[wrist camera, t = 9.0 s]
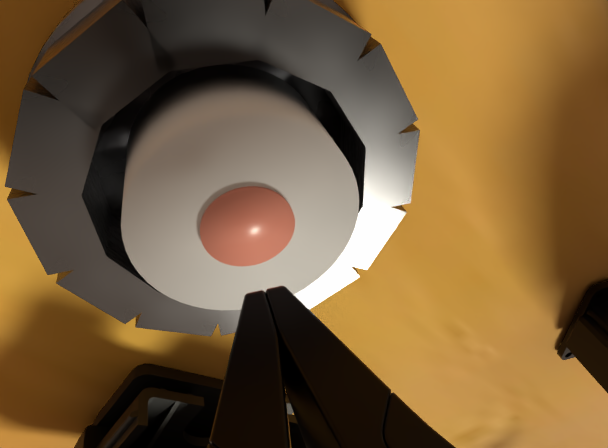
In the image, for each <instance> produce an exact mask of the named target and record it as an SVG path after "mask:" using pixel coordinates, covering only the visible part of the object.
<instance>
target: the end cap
mask: <svg viewBox="0 0 608 448" xmlns="http://www.w3.org/2000/svg"><path fill="white" fill-rule="evenodd" d="M223 382H224V380H220V379H216V378H211V377H207V376H202V375H198V374H193V373H189V372H184V371H180V370H176V369H171V368H167V367H162V366H158V365H153V364H143V365H139V366H137V367H136V368H134V369H133V370H132V372H131V373H130V374H129V375H128V377H127V378H126V379H125V380H124V382H123V383H122V384H121V386H120V387H119V388H118V389H117V391H116V392H115V393H114V395H113V396H112V397H111V398H110V400H109V401H108V402H107V403H106V405H105V406H104V407H103V409H102V410H101V411H100V412H99V414H98V416H97V417H96V419H95V421H94V423H93V424H92V425H90V426H88V427H87V428H86V429H85V430H84V432H83V433H82V435H81V436H80V438H79V440H78V441H77V443H76V445H75V447H74V448H207V447H208V444H210V441H209V440H210V436H211V431H212V427H213V423H214V419H215V415H216V411H217V407H218V403H219V398H220V394H221V390H222V386H223ZM286 403H287V412H288V421H289V430H290V440H291V448H307V447H306V444H305V442H304V439H303V436H302V434H301V431H300V428H299V426H298V423H297V420H296V418H295V415H291V414H292V413H293V410H292V407H291V404H290V401H289V399H288V396H287V394H286Z"/></svg>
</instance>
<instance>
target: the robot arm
mask: <svg viewBox="0 0 608 448" xmlns="http://www.w3.org/2000/svg"><path fill="white" fill-rule="evenodd" d="M557 354H558V355H559V356H560V358H561V359H562V360H567V359H570V358H574V357H576V358H577V359H578V360H579V361H580V363H581V364H582V365H583V366H584V367H585V368H586V369H587V370H588V372H589V373H590V374H591V375H592V376H593V377H594V378H595V379H596V381H597V382H598V383H599V384H600V385H601V386H602V387H603V388H604V390H605V391H606V392H607V393H608V281H606V282H602V283H598V284H595V285H593V286H592V287H591V288H589V289H588V291H587V293H586V295H585V297H584V299H583V301H582V303H581V305H580V307H579V309H578V311H577V313H576V315H575V317H574V319H573V321H572V323H571V325H570V327H569V329H568V331H567V333H566V336H565V338H564V340H563V342H562V344H561V346H560V348H559V350H558V352H557ZM285 389H286V393H287V396H288V399H289V401H290V404H291V407H292V410H293V412H294V415H295V418H296V420H297V423H298V426H299V428H300V431H301V434H302V436H303V439H304V442H305V444H306V447H307V448H455V447H454V446H453V445H452V444H450V443H449V442H448V441H447V440H446V439H444V438H443V437H442V436H441V435H440V434H438V433H437V432H436V431H435V430H433V429H432V428H431V427H430V426H429V425H428V424H427V423H425V422H424V421H423V420H422V419H421V418H420V417H419V416H418V415H417V414H416V413H415V412H414V411H412V410H411V409H410V408H409V407H408V406H407V405H406V404H405V403H404V402H403V401H402V400H401V399H400V398H399V397H398V396H397V395H396V394H395V393H391V390H390V388H388V387H387V386H386V385H385V384H384V383H383V382H382V381H381V380H380V379H379V378H378V377H377V376H376V375H375V374H374V373H373V372H372V371H371V370H370V369H369V368H368V367H367V366H366V365H365V364H364V363H363V362H362V361H361V360H360V359H359V358H358V357H357V356H356V355H355V354H354V353H353V352H352V351H351V350H350V349H349V348H348V347H347V346H346V345H345V344H344V343H343V342H342V341H341V340H339V339H338V338H337V337H336V336H335V335H334V334H333V333H332V332H331V331H330V330H329V329H328V328H327V327H326V326H325V325H324V324H323V323H322V322H321V321H320V320H319V319H318V318H317V317H316V316H315V315H314V314H313V313H312V312H311V311H310V310H309V309H308V308H307V307H306V306H305V305H304V304H303V303H302V302H301V301H300V300H299V299H298V298H297V297H296V296H295V295H294V294H293V293H292V292H290V291H289V290H288V289H287V288H286V287H285V286H277V287H273V288H268V289H267V290H266V291H265V292H264V291H263V290H259V291H255V292H250V293H247V294H246V295H245V296H244V300H243V304H242V308H241V312H240V316H239V320H238V324H237V328H236V333H235V337H234V341H233V345H232V349H231V353H230V357H229V361H228V366H227V370H226V374H225V378H224V382H223V386H222V390H221V394H220V398H219V403H218V407H217V411H216V415H215V419H214V423H213V427H212V431H211V436H210V440H209V441H210V444H208V447H207V448H291V440H290V430H289V421H288V412H287V403H286V394H285Z"/></svg>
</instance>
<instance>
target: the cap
mask: <svg viewBox="0 0 608 448" xmlns="http://www.w3.org/2000/svg"><path fill="white" fill-rule="evenodd" d="M358 210H359V192H358V187H357V182H356V179H355V176H354V173H353V170H352V168H351V166H350V165H349V163H348V161H347V159H346V158H345V156H344V155H343V153H342V152H341V151H340V149H339V148H338V146H337V145H336V144H335V142H334V141H333V139H332V138H331V136H330V135H329V134H328V132H327V131H326V129H325V128H324V127H323V125H322V124H321V122H320V121H319V119H318V118H317V117H316V115H315V114H314V112H313V111H312V110H311V108H310V107H309V105H308V104H307V103H306V101H305V100H304V99H303V98H302V96H301V95H300V94H299V93H298V92H297V91H296V90H295V89H294V88H293V87H292V86H290V85H289V84H288V83H286V82H285V81H283V80H282V79H280V78H278V77H276V76H275V75H273V74H271V73H269V72H266V71H263V70H260V69H257V68H253V67H248V66H244V65H232V64H224V65H213V66H207V67H202V68H198V69H195V70H192V71H189V72H186V73H184V74H182V75H180V76H178V77H176V78H174V79H172V80H171V81H169V82H168V83H166V84H165V85H163V86H162V87H160V88H159V89H158V90H157V91H156V92H155V93H154V94H153V95H152V96H151V97H150V98H149V99H148V100H147V101H146V103H145V104H144V105H143V106H142V108H141V109H140V111H139V113H138V115H137V116H136V118H135V120H134V123H133V125H132V128H131V130H130V134H129V138H128V143H127V155H126V166H125V178H124V190H123V202H122V214H121V232H122V239H123V243H124V246H125V250H126V252H127V255H128V257H129V259H130V261H131V263H132V264H133V266H134V267H135V269H136V270H137V271H138V273H139V274H140V275H141V276H142V277H143V278H144V279H145V280H146V281H147V282H148V283H149V284H150V285H151V286H153V287H154V288H155V289H156V290H158V291H159V292H161V293H163V294H164V295H166V296H168V297H170V298H172V299H174V300H176V301H179V302H181V303H184V304H187V305H191V306H194V307H199V308H204V309H212V310H241V308H242V304H243V300H244V296H245V295H246V294H247V293H250V292H255V291H259V290H263V291H264V292H265V291H266V290H267V289H268V288H273V287H277V286H285V287H286V288H287V289H288V290H289V291H290V292H292V293H293V294H295V293H297V292H299V291H301V290H302V289H304V288H306V287H307V286H309V285H310V284H312V283H313V282H314V281H316V280H317V279H318V278H320V277H321V276H322V275H323V274H324V273H325V272H326V271H327V270H329V268H330V267H331V266H332V265H333V264H334V263H335V262H336V261H337V259H338V258H339V257H340V255H341V254H342V253H343V251H344V250H345V248H346V246H347V244H348V243H349V241H350V239H351V236H352V234H353V231H354V229H355V225H356V222H357V218H358Z"/></svg>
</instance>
